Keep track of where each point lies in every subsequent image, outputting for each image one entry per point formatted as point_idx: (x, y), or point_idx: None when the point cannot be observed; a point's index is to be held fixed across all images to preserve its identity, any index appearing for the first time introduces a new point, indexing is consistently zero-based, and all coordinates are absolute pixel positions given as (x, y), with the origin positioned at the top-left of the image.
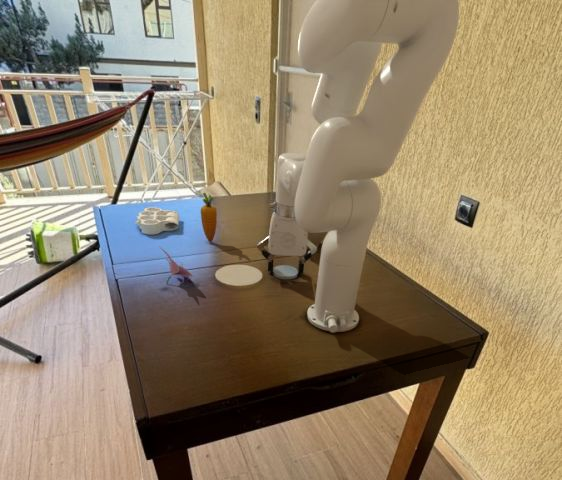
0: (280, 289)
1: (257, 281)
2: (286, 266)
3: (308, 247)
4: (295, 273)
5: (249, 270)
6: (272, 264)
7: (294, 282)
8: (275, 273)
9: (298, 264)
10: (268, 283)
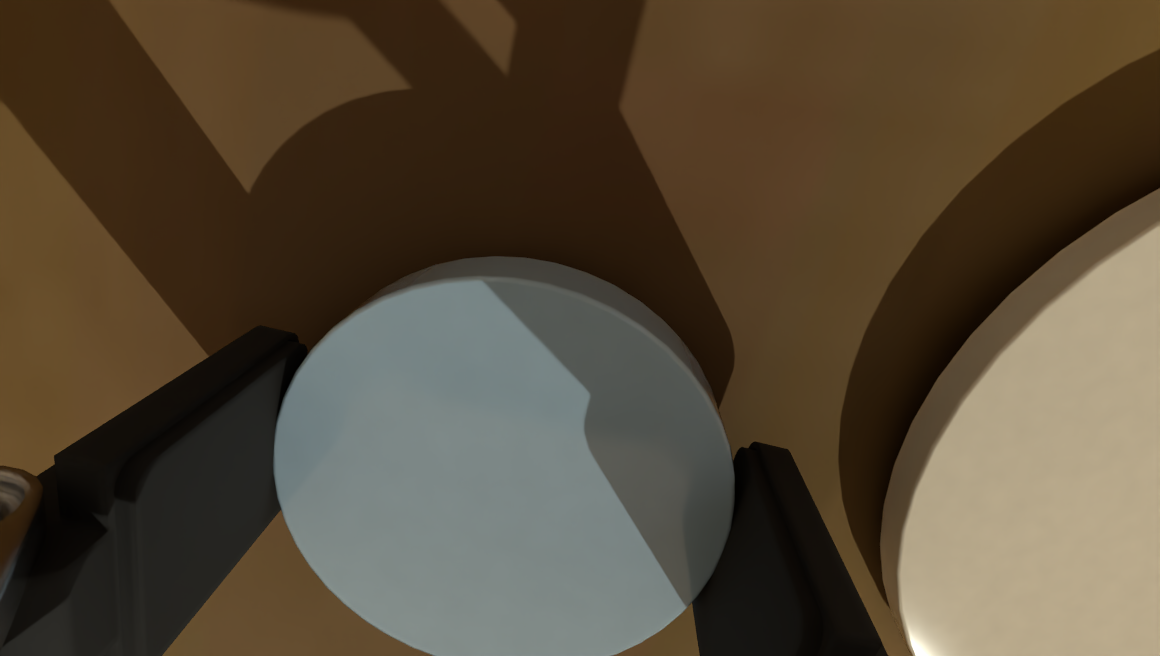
0: (714, 13)
1: (1139, 245)
2: (451, 627)
3: None
4: (331, 379)
5: (1063, 632)
6: (819, 593)
7: (401, 249)
8: (717, 428)
9: (204, 569)
10: (848, 277)
